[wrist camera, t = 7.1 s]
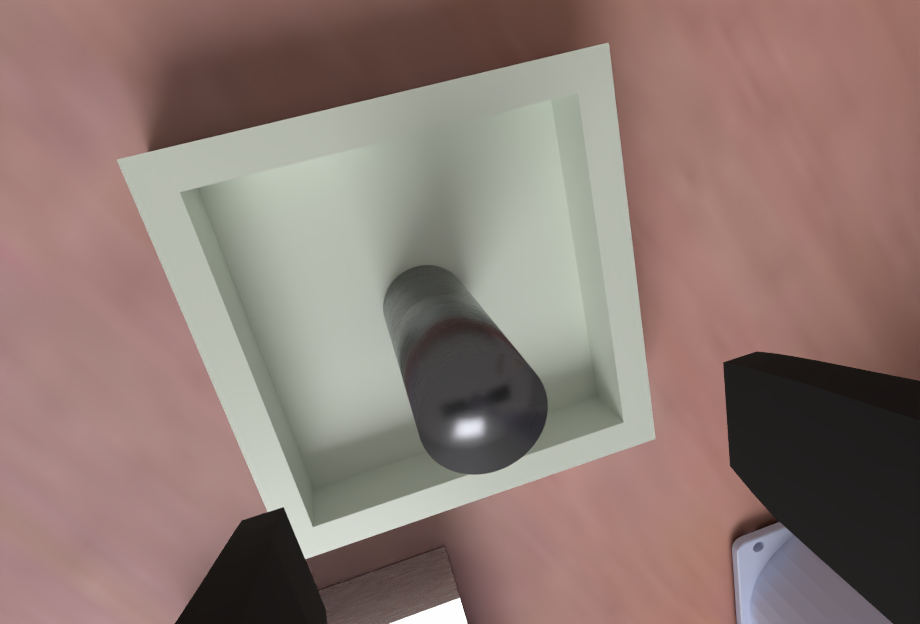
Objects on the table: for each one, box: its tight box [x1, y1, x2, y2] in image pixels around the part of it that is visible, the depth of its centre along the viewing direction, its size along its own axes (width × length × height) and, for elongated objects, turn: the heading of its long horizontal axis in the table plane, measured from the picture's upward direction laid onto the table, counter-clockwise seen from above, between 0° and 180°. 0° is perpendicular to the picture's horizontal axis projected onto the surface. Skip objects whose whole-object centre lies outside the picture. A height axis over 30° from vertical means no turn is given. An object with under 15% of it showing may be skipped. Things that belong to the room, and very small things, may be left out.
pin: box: [383, 265, 548, 475], centre depth 14 cm, size 3×3×7 cm
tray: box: [117, 43, 655, 559], centre depth 17 cm, size 12×12×2 cm
